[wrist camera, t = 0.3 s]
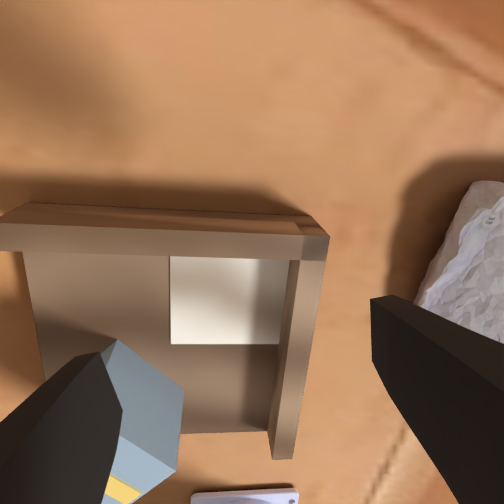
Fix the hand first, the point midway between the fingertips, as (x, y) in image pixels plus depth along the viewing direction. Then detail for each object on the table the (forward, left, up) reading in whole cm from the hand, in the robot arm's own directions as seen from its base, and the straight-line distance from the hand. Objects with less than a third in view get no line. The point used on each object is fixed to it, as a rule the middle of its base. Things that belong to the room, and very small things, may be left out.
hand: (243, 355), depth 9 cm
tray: (-6, +3, -10) cm, 12 cm away
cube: (-9, +6, -9) cm, 14 cm away
